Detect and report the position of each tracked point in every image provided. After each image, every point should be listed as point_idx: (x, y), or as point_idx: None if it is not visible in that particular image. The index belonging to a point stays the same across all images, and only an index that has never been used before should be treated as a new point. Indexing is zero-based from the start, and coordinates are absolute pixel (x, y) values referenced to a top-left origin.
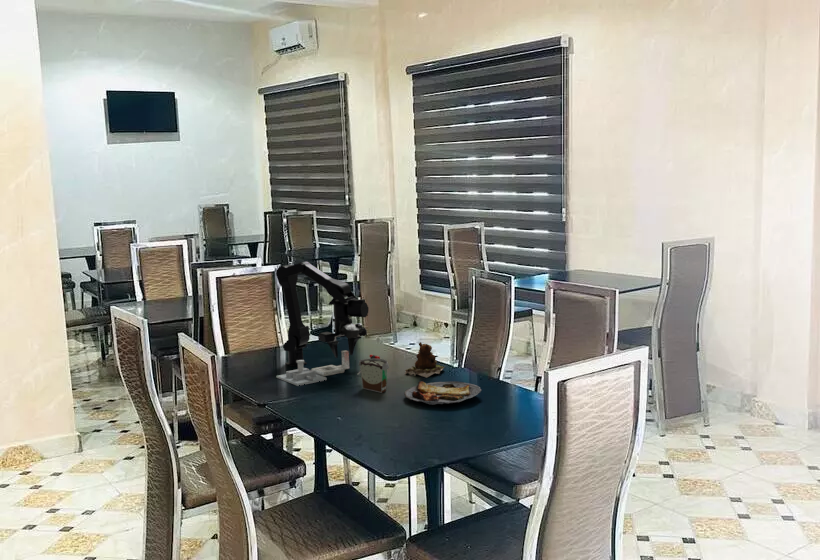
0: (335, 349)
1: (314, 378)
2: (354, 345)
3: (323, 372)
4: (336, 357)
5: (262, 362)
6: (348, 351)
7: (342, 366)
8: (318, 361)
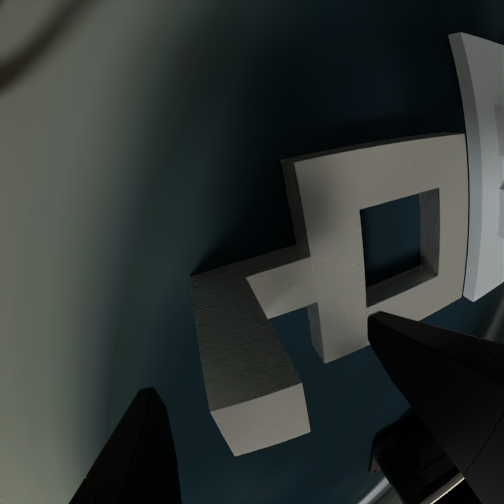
0: (484, 346)
1: (502, 75)
2: (88, 494)
3: (463, 142)
4: (383, 314)
5: None
6: (212, 404)
7: (274, 267)
8: (297, 479)
